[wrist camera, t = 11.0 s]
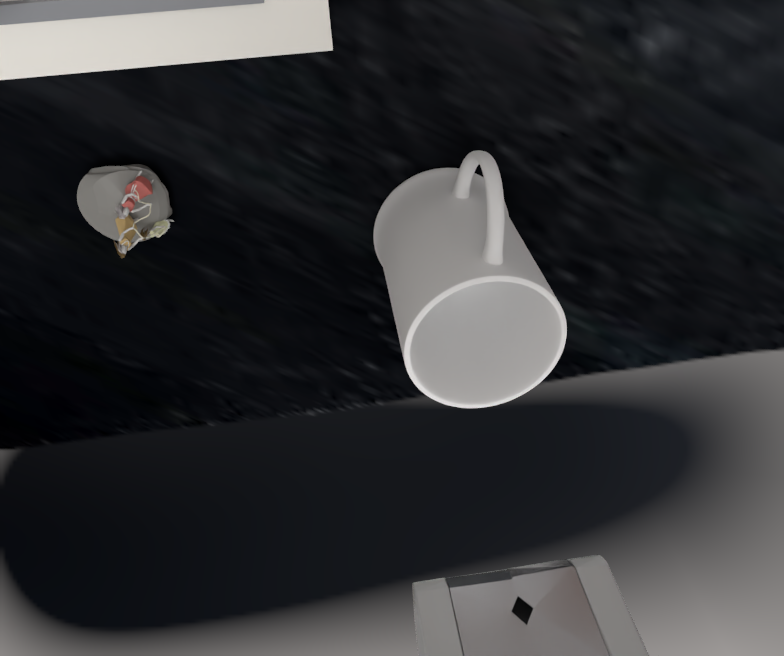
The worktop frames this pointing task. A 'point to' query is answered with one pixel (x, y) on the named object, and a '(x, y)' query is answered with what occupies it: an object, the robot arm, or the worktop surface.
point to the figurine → (125, 204)
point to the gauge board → (152, 33)
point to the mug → (466, 288)
